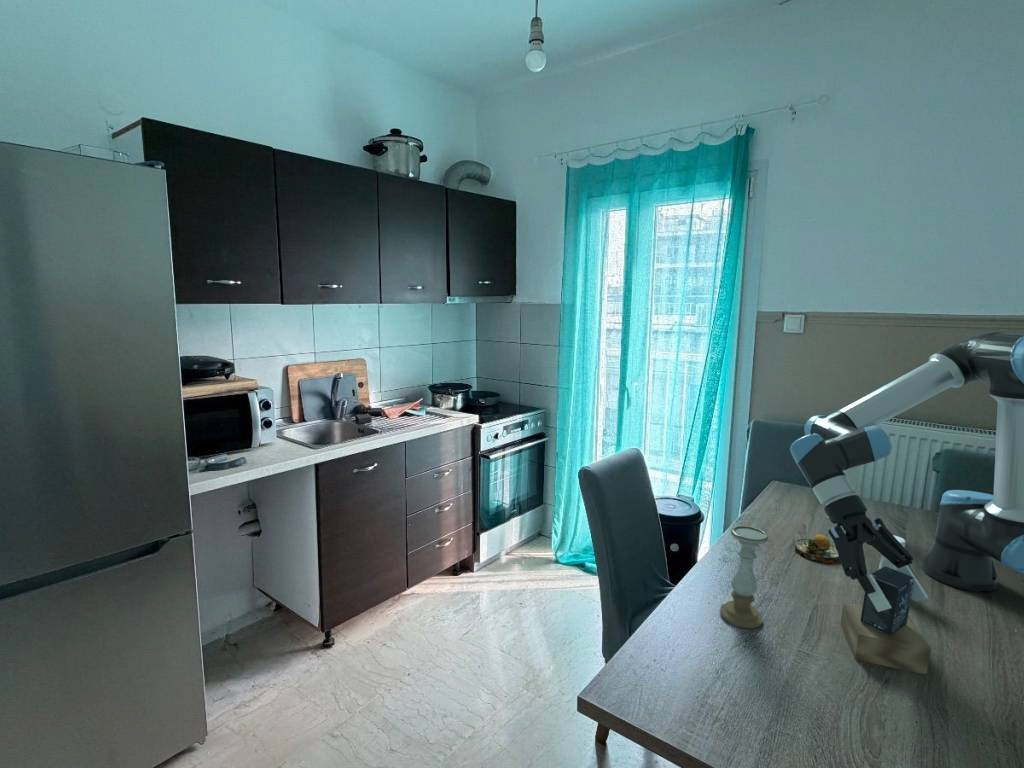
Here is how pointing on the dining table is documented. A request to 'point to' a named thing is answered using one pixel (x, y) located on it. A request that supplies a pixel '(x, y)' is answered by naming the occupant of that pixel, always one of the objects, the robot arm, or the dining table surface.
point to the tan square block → (885, 643)
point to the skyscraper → (852, 478)
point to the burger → (817, 549)
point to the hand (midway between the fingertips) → (903, 604)
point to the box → (898, 596)
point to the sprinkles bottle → (885, 561)
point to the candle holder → (744, 580)
